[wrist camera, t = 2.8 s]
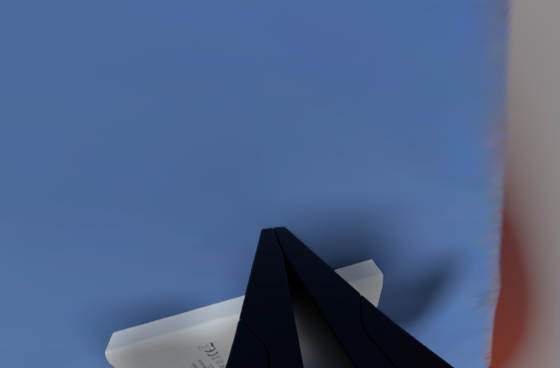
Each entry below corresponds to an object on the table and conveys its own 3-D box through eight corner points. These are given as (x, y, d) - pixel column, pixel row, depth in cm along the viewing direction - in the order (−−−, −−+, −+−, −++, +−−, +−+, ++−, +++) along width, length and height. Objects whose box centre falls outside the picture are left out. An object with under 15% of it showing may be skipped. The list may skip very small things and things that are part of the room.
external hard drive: (353, 326, 15) (180, 383, 14) (366, 250, 11) (117, 318, 9) (366, 351, 14) (175, 419, 12) (385, 276, 10) (99, 362, 8)
